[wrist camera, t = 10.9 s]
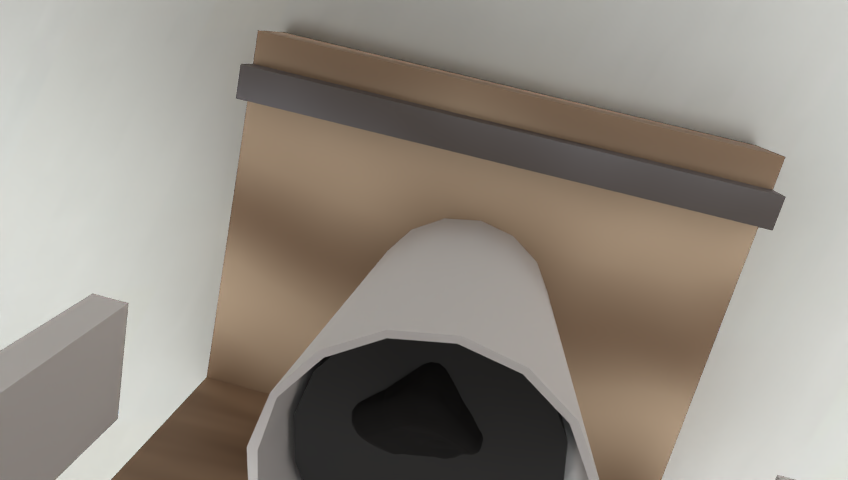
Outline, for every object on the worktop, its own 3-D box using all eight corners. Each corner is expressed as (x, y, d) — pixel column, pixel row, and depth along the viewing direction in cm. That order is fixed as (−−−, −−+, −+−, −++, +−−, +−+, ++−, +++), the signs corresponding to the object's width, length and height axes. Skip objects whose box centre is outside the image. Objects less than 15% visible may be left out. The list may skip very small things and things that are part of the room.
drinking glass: (319, 267, 23) (177, 427, 13) (495, 165, 21) (480, 261, 11) (425, 427, 24) (366, 683, 14) (600, 341, 22) (667, 565, 12)
